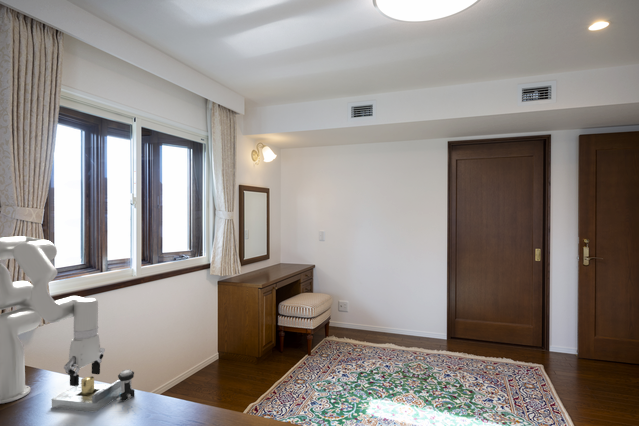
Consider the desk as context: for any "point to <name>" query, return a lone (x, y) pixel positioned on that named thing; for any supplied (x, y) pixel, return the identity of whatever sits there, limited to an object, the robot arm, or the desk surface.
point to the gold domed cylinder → (87, 386)
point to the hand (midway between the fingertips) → (85, 379)
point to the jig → (83, 403)
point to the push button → (126, 385)
